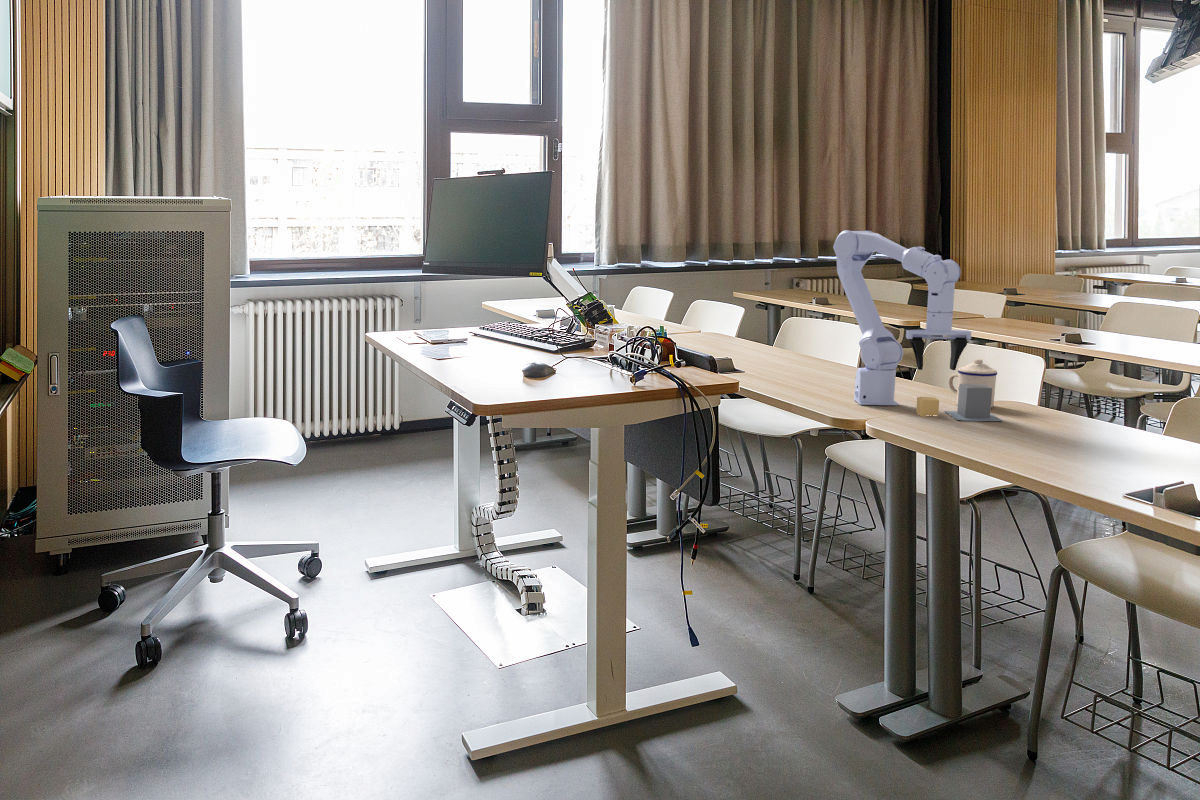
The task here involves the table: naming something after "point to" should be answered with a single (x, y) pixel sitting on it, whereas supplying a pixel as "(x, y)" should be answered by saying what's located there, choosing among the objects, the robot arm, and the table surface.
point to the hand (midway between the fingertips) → (936, 369)
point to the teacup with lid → (975, 377)
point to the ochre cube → (927, 406)
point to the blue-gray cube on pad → (974, 400)
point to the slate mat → (959, 417)
